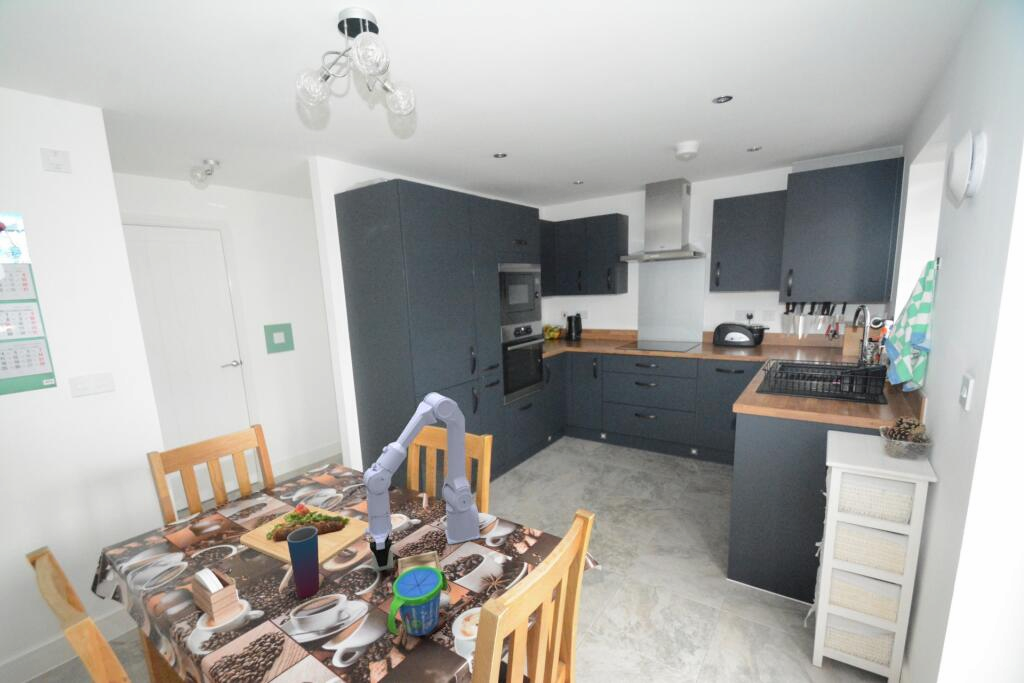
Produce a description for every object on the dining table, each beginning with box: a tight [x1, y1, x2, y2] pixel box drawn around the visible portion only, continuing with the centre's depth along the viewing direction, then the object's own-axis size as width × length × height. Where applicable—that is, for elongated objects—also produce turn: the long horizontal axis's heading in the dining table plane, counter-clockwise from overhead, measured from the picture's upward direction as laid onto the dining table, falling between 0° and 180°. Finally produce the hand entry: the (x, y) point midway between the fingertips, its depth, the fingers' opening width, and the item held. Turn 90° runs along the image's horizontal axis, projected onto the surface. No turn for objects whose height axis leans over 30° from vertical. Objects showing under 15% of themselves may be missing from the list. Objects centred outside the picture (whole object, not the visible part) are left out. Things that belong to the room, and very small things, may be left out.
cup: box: [287, 527, 320, 599], centre depth 103 cm, size 7×7×15 cm
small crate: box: [371, 544, 394, 573], centre depth 112 cm, size 5×5×5 cm
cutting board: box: [239, 503, 369, 568], centre depth 128 cm, size 35×23×8 cm
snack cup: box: [387, 566, 449, 637], centre depth 90 cm, size 16×10×10 cm
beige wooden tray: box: [397, 550, 442, 577], centre depth 106 cm, size 10×10×3 cm
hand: (383, 559), depth 112 cm, fingers closed on small crate, 5 cm apart
